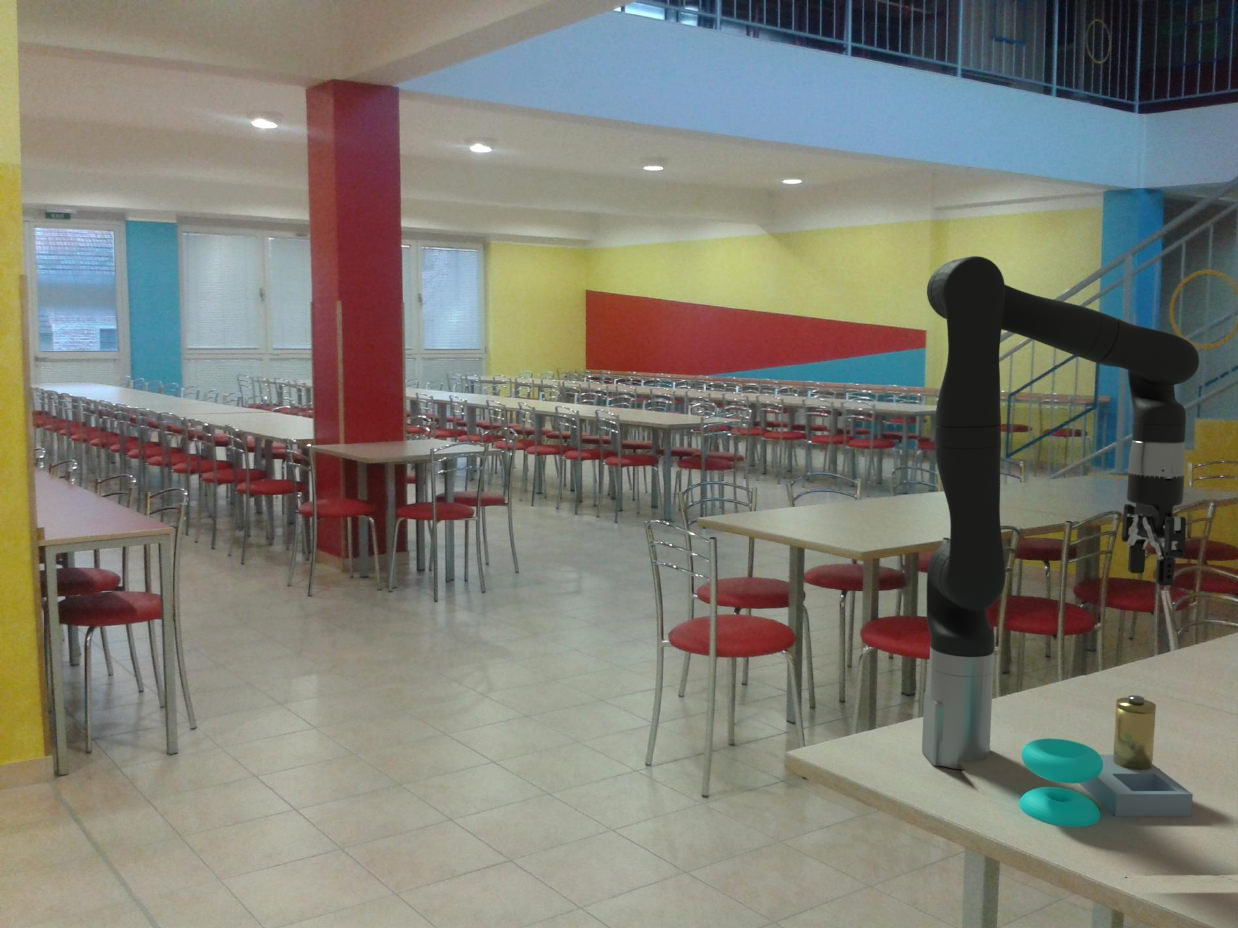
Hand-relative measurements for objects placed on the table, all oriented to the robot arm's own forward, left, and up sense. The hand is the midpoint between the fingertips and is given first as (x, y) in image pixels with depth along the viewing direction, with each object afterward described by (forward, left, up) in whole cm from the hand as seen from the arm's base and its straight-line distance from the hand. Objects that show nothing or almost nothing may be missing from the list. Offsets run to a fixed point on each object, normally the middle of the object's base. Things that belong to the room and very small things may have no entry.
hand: (1149, 578), depth 166 cm
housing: (-10, -17, -28) cm, 34 cm away
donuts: (-22, -22, -28) cm, 42 cm away
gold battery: (-8, -13, -24) cm, 28 cm away
